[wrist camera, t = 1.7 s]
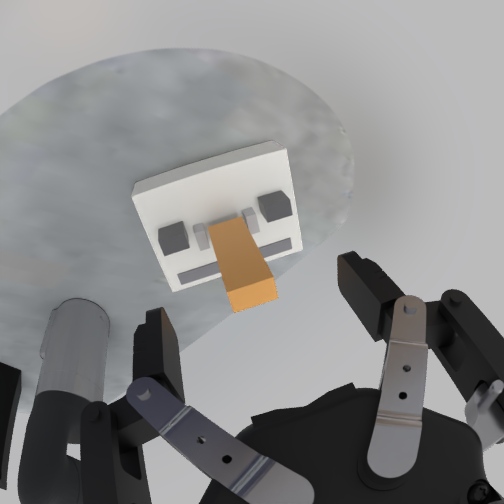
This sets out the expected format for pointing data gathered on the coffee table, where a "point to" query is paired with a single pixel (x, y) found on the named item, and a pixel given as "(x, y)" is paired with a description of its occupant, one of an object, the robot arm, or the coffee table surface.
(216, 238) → the breaker handle
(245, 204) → the white slotted plate
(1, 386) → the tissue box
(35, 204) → the coffee table surface
